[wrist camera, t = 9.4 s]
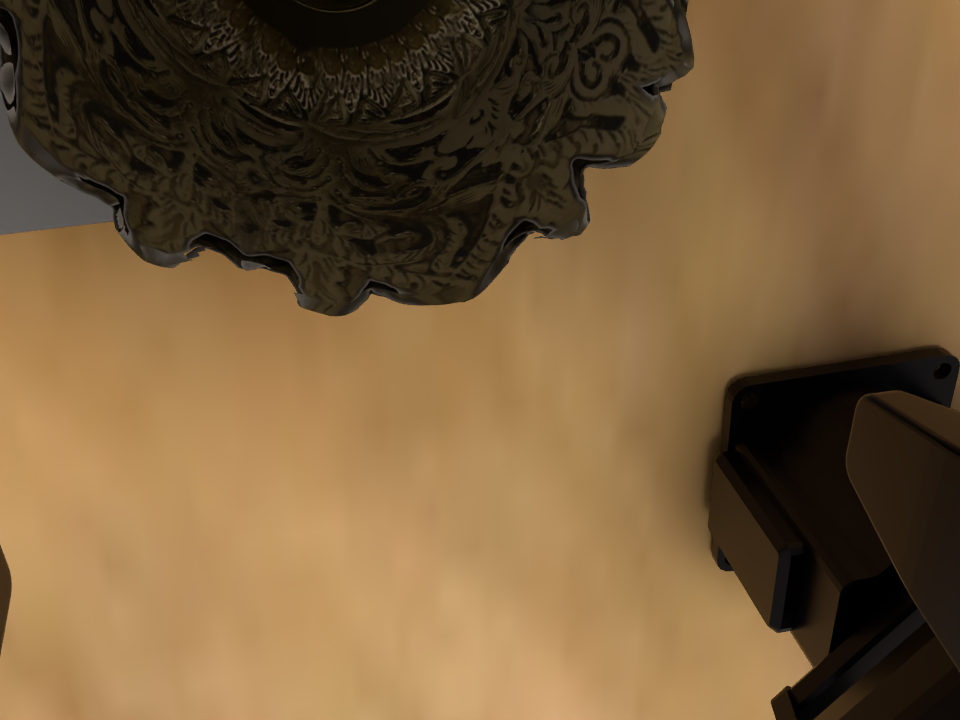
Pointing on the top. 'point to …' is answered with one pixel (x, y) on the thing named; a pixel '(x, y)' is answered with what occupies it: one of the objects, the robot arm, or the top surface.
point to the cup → (341, 127)
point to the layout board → (38, 192)
